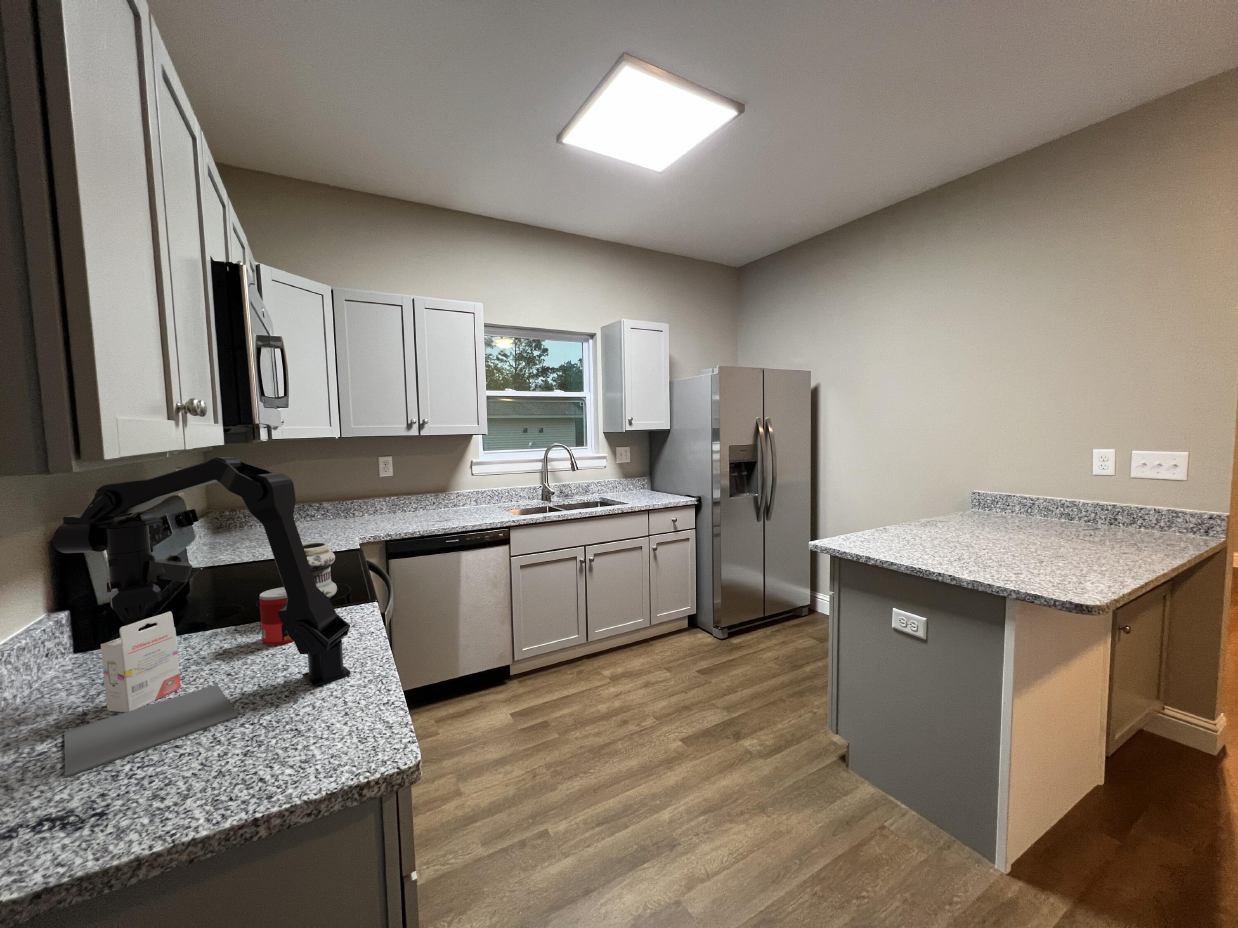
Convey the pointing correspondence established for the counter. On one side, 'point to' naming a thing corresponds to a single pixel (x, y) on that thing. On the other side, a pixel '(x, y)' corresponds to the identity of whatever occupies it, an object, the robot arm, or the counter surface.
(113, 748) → the mat
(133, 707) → the ink cartridge box
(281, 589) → the canned food
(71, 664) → the counter surface
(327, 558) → the apothecary jar
